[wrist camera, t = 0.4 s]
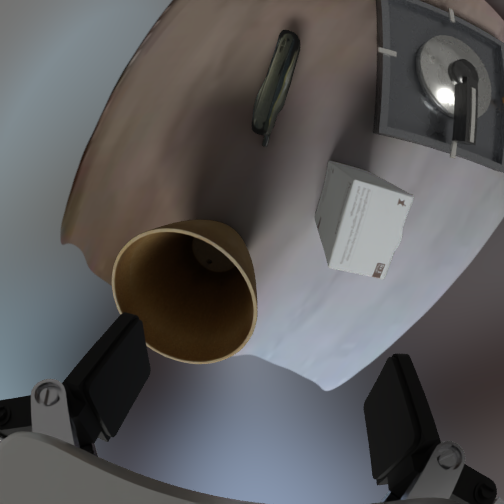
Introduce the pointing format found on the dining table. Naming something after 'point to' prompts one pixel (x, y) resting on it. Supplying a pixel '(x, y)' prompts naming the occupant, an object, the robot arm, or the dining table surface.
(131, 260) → the plant pot
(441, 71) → the dial
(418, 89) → the housing
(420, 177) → the dining table surface
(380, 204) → the skincare box
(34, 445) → the robot arm
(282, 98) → the green cucumber
